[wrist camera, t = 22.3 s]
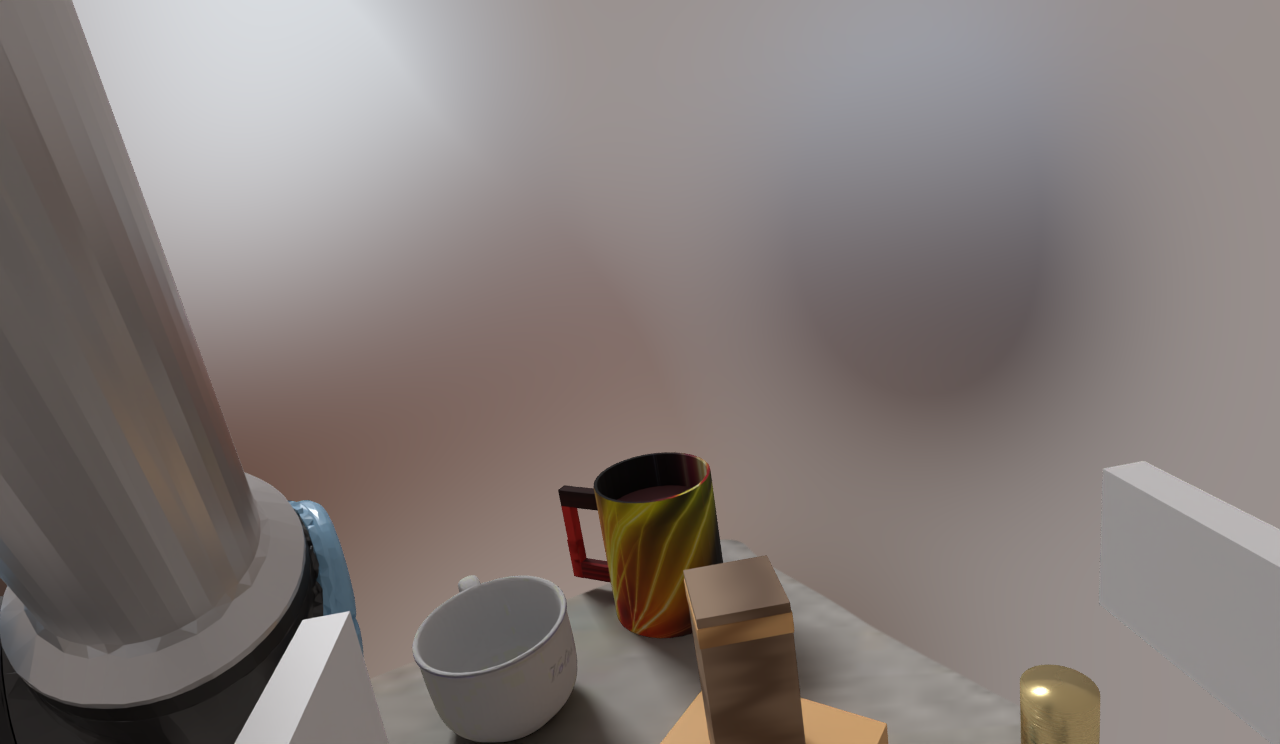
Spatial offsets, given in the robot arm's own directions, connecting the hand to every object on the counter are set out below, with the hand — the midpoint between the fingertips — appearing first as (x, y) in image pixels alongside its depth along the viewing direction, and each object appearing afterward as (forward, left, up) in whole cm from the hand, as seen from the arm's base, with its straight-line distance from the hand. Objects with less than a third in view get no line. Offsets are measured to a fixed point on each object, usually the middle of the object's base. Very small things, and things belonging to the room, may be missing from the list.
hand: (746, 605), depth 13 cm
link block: (-14, +22, -28) cm, 38 cm away
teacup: (-34, +21, -30) cm, 49 cm away
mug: (-30, +35, -30) cm, 55 cm away
